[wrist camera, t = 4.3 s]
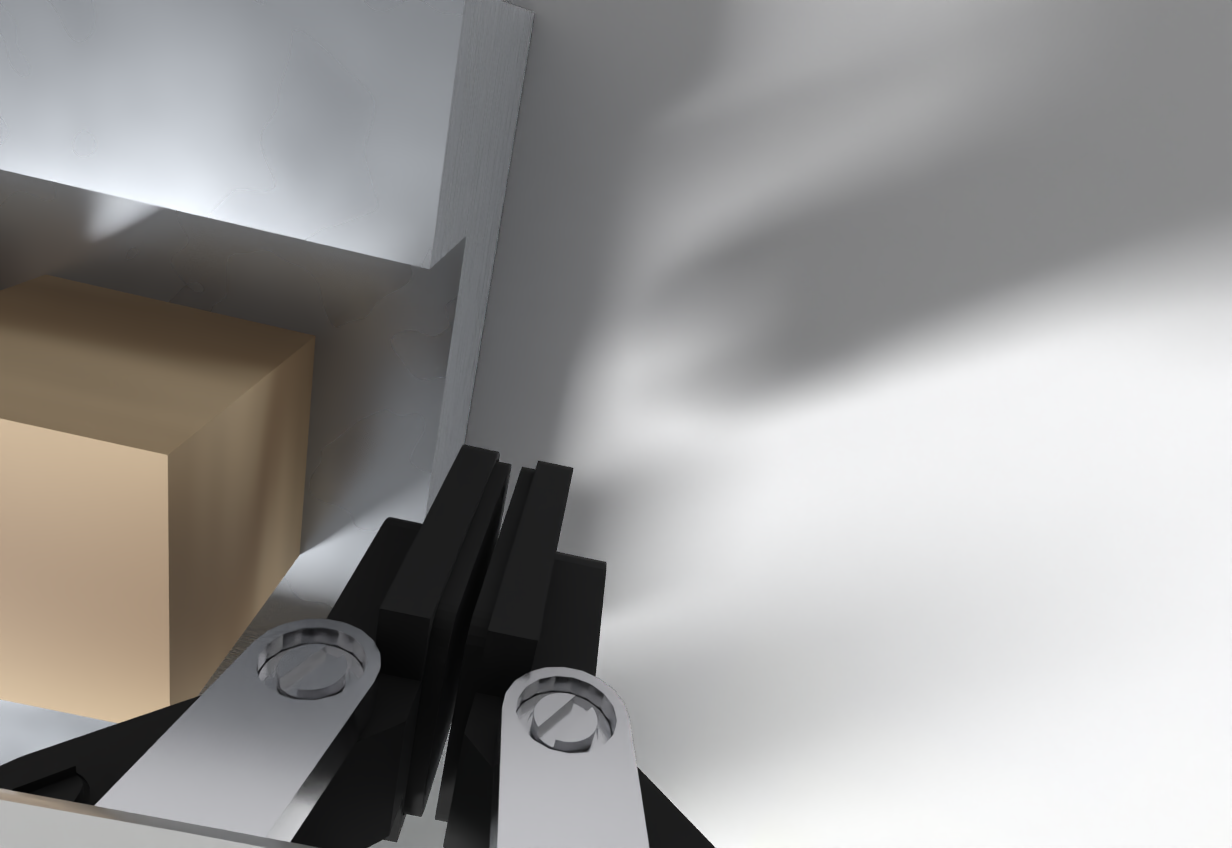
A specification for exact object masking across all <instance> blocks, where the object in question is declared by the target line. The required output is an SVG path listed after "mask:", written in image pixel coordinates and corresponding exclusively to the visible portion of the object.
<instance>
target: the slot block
mask: <svg viewBox="0 0 1232 848" xmlns="http://www.w3.org/2000/svg"><path fill="white" fill-rule="evenodd" d="M534 15H535V12H533V11H530V10H527V9H524V8H522V7H519V6H516V5H513V4H510V3H507V2H505V1H502V0H0V290H3V289H6V288H9V287H12V286H14V285H17V284H20V283H23V282H26V281H29V280H31V279H34V278H37V277H40V276H43V275H51V276H55V277H59V278H64V279H68V280H73V281H77V282H81V283H86V284H90V285H95V286H99V287H103V288H108V289H112V290H117V291H121V292H125V293H130V294H134V295H139V296H143V297H147V298H152V299H156V300H161V301H165V302H169V303H174V304H178V305H183V306H187V307H191V308H196V309H200V310H205V311H209V312H213V313H218V314H222V315H227V316H231V317H235V318H240V319H244V320H249V321H253V322H257V323H262V324H266V325H271V326H275V327H279V328H284V329H288V330H293V331H297V332H301V333H306V334H310V335H315V336H316V337H315V351H314V365H313V378H312V392H311V406H310V419H309V433H308V447H307V461H306V474H305V488H304V502H303V515H302V529H301V543H300V555H299V557H298V558H297V559H296V561H295V562H294V564H293V565H292V566H291V568H290V569H289V570H288V572H287V573H286V575H285V576H284V577H283V579H282V580H281V582H280V583H279V584H278V586H277V587H276V588H275V590H274V591H273V593H272V594H271V595H270V597H269V598H268V599H267V601H266V602H265V604H264V605H263V606H262V608H261V609H260V610H259V612H258V613H257V615H256V616H255V617H254V619H253V620H252V622H251V623H250V624H249V626H248V627H247V628H246V630H245V631H244V633H243V634H242V635H241V637H240V638H239V639H238V641H237V642H236V644H235V645H234V646H233V648H232V649H231V650H230V652H229V653H228V655H227V656H226V657H225V659H224V660H223V661H222V663H221V664H220V666H219V667H218V668H217V670H216V671H215V673H214V674H213V675H212V677H211V678H210V679H209V681H208V682H207V684H206V685H205V686H204V688H203V689H202V690H201V692H200V693H199V695H198V696H200V695H202V694H203V693H204V692H205V691H206V690H207V689H208V688H209V687H210V686H211V685H212V684H213V683H214V682H215V681H216V680H217V679H218V678H219V677H220V676H221V674H222V673H223V672H224V671H225V670H226V669H227V668H228V667H229V666H230V665H231V664H232V663H233V662H234V661H235V660H236V659H237V658H238V657H239V656H240V655H241V654H242V653H243V652H244V651H245V650H246V649H247V648H248V647H249V646H250V645H251V644H252V642H254V641H255V640H256V639H258V638H259V637H260V636H262V635H263V634H264V633H265V632H267V631H269V630H271V629H273V628H276V627H278V626H280V625H283V624H285V623H289V622H294V621H299V620H304V619H326V618H327V617H328V615H329V613H330V612H331V610H332V608H333V607H334V605H335V603H336V601H337V600H338V598H339V596H340V595H341V593H342V591H343V590H344V588H345V586H346V585H347V583H348V581H349V580H350V578H351V576H352V574H353V573H354V571H355V569H356V568H357V566H358V564H359V563H360V561H361V559H362V558H363V556H364V554H365V553H366V551H367V549H368V547H369V546H370V544H371V542H372V541H373V539H374V537H375V536H376V534H377V532H378V531H379V529H380V527H381V526H382V524H383V522H384V521H385V520H386V518H388V517H393V518H398V519H403V520H408V521H412V522H417V523H422V524H423V522H424V520H425V518H426V516H427V514H428V512H429V510H430V508H431V506H432V504H433V502H434V500H435V498H436V496H437V494H438V492H439V490H440V488H441V486H442V484H443V482H444V480H445V478H446V476H447V474H448V472H449V470H450V468H451V466H452V464H453V462H454V461H455V459H456V457H457V455H458V453H459V451H460V449H461V447H462V445H464V444H465V437H466V431H467V425H468V419H469V413H470V407H471V401H472V395H473V388H474V382H475V376H476V370H477V364H478V358H479V352H480V346H481V339H482V333H483V327H484V321H485V315H486V309H487V303H488V297H489V290H490V284H491V278H492V272H493V266H494V260H495V254H496V248H497V241H498V235H499V229H500V223H501V217H502V211H503V205H504V199H505V192H506V186H507V180H508V174H509V168H510V162H511V156H512V150H513V144H514V137H515V131H516V125H517V119H518V113H519V107H520V101H521V95H522V88H523V82H524V76H525V70H526V64H527V58H528V52H529V46H530V39H531V33H532V27H533V21H534ZM115 724H118V723H114V722H109V721H104V720H99V719H94V718H89V717H84V716H79V715H75V714H70V713H65V712H60V711H55V710H50V709H45V708H40V707H35V706H30V705H25V704H20V703H16V702H11V701H6V700H1V699H0V766H1V765H3V764H5V763H7V762H10V761H12V760H14V759H16V758H19V757H21V756H24V755H27V754H30V753H33V752H35V751H38V750H41V749H44V748H47V747H50V746H53V745H56V744H59V743H62V742H65V741H68V740H71V739H74V738H77V737H80V736H82V735H85V734H88V733H91V732H94V731H97V730H100V729H103V728H106V727H109V726H112V725H115Z"/></svg>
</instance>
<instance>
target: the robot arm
mask: <svg viewBox="0 0 1232 848" xmlns="http://www.w3.org/2000/svg"><path fill="white" fill-rule="evenodd" d="M510 471H511V464H507V463H502V462H499V452H496V451H491V450H487V449H482V448H477V447H473V446H468V445H462V447H461V449H460V451H459V453H458V455H457V457H456V459H455V461H454V462H453V464H452V466H451V468H450V470H449V472H448V474H447V476H446V478H445V480H444V482H443V484H442V486H441V488H440V490H439V492H438V494H437V496H436V498H435V500H434V502H433V504H432V506H431V508H430V510H429V512H428V514H427V516H426V518H425V520H424V522H423V524H422V523H417V522H412V521H408V520H403V519H398V518H393V517H388V518H386V520H385V521H384V522H383V524H382V526H381V527H380V529H379V531H378V532H377V534H376V536H375V537H374V539H373V541H372V542H371V544H370V546H369V547H368V549H367V551H366V553H365V554H364V556H363V558H362V559H361V561H360V563H359V564H358V566H357V568H356V569H355V571H354V573H353V574H352V576H351V578H350V580H349V581H348V583H347V585H346V586H345V588H344V590H343V591H342V593H341V595H340V596H339V598H338V600H337V601H336V603H335V605H334V607H333V608H332V610H331V612H330V613H329V615H328V617H327V618H326V619H304V620H299V621H294V622H289V623H285V624H283V625H280V626H278V627H276V628H273V629H271V630H269V631H267V632H265V633H264V634H263V635H262V636H260V637H259V638H258V639H256V640H255V641H254V642H252V644H251V645H250V646H249V647H248V648H247V649H246V650H245V651H244V652H243V653H242V654H241V655H240V656H239V657H238V658H237V659H236V660H235V661H234V662H233V663H232V664H231V665H230V666H229V667H228V668H227V669H226V670H225V671H224V672H223V673H222V674H221V676H220V677H219V678H218V679H217V680H216V681H215V682H214V683H213V684H212V685H211V686H210V687H209V688H208V689H207V690H206V691H205V692H204V693H203V694H202V695H200V696H197V697H194V698H191V699H188V700H185V701H182V702H179V703H176V704H174V705H171V706H168V707H165V708H162V709H159V710H156V711H153V712H150V713H147V714H144V715H141V716H138V717H135V718H132V719H129V720H127V721H124V722H121V723H118V724H115V725H112V726H109V727H106V728H103V729H100V730H97V731H94V732H91V733H88V734H85V735H82V736H80V737H77V738H74V739H71V740H68V741H65V742H62V743H59V744H56V745H53V746H50V747H47V748H44V749H41V750H38V751H35V752H33V753H30V754H27V755H24V756H21V757H19V758H16V759H14V760H12V761H10V762H7V763H5V764H3V765H1V766H0V848H368V847H370V846H372V845H373V844H375V843H377V842H379V841H381V840H388V841H393V842H397V840H398V837H399V834H400V831H401V828H402V825H403V822H404V819H405V816H406V814H409V815H415V816H420V817H421V816H422V814H423V812H424V809H425V806H426V803H427V800H428V796H429V793H430V790H431V787H432V783H433V780H434V777H435V774H436V771H437V767H438V764H439V761H440V758H441V755H442V751H443V748H444V745H445V742H446V738H447V735H448V732H449V729H450V726H451V730H450V735H449V741H448V747H447V752H446V758H445V764H444V769H443V775H442V781H441V787H440V792H439V798H438V804H437V809H436V815H435V820H440V821H446V822H448V823H447V829H446V834H445V839H444V845H443V847H444V848H715V847H714V846H713V845H712V844H711V843H710V842H709V841H708V840H707V839H706V837H705V836H704V835H703V834H702V833H701V832H700V831H699V830H698V829H697V828H696V827H695V826H694V825H693V824H692V823H691V822H690V821H689V820H688V819H687V818H686V817H685V816H684V815H683V814H682V813H681V812H680V811H679V810H678V809H677V807H676V806H675V805H674V804H673V803H672V802H671V801H670V800H669V799H668V798H667V797H666V796H665V795H664V794H663V793H662V792H661V791H660V790H659V789H658V788H657V787H656V786H655V785H654V784H653V783H652V782H651V781H650V780H649V779H648V777H647V776H646V775H645V774H644V773H643V772H642V771H641V770H640V769H639V768H638V767H637V763H636V756H635V749H634V743H633V736H632V730H631V723H630V717H629V714H628V712H627V709H626V706H625V703H624V702H623V700H622V699H621V698H620V697H619V695H618V694H617V693H616V691H615V690H614V689H613V688H611V687H610V686H609V685H607V684H606V683H605V682H604V681H602V680H601V679H599V678H597V677H595V676H596V666H597V656H598V646H599V636H600V626H601V616H602V607H603V597H604V587H605V577H606V562H603V561H598V560H594V559H589V558H584V557H579V556H575V555H570V554H565V553H560V552H556V550H557V545H558V541H559V536H560V531H561V526H562V521H563V516H564V511H565V507H566V502H567V497H568V492H569V487H570V482H571V477H572V473H573V468H571V467H566V466H561V465H557V464H552V463H547V462H543V461H538V463H537V466H536V470H535V469H530V468H525V467H522V469H521V471H520V474H519V477H518V480H517V483H516V486H515V490H514V493H513V496H512V499H511V502H510V505H509V508H508V511H507V514H506V517H505V520H504V523H503V526H502V529H501V532H500V535H499V531H500V526H501V520H502V515H503V509H504V504H505V498H506V493H507V488H508V482H509V477H510ZM498 537H499V538H498ZM451 722H452V724H451Z"/></svg>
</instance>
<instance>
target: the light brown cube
mask: <svg viewBox="0 0 1232 848" xmlns="http://www.w3.org/2000/svg"><path fill="white" fill-rule="evenodd" d="M315 337H316V336H315V335H310V334H306V333H301V332H297V331H293V330H288V329H284V328H279V327H275V326H271V325H266V324H262V323H257V322H253V321H249V320H244V319H240V318H235V317H231V316H227V315H222V314H218V313H213V312H209V311H205V310H200V309H196V308H191V307H187V306H183V305H178V304H174V303H169V302H165V301H161V300H156V299H152V298H147V297H143V296H139V295H134V294H130V293H125V292H121V291H117V290H112V289H108V288H103V287H99V286H95V285H90V284H86V283H81V282H77V281H73V280H68V279H64V278H59V277H55V276H51V275H43V276H40V277H37V278H34V279H31V280H29V281H26V282H23V283H20V284H17V285H14V286H12V287H9V288H6V289H3V290H0V699H1V700H6V701H11V702H16V703H20V704H25V705H30V706H35V707H40V708H45V709H50V710H55V711H60V712H65V713H70V714H75V715H79V716H84V717H89V718H94V719H99V720H104V721H109V722H114V723H121V722H124V721H127V720H129V719H132V718H135V717H138V716H141V715H144V714H147V713H150V712H153V711H156V710H159V709H162V708H165V707H168V706H171V705H174V704H176V703H179V702H182V701H185V700H188V699H191V698H194V697H197V696H198V695H199V693H200V692H201V690H202V689H203V688H204V686H205V685H206V684H207V682H208V681H209V679H210V678H211V677H212V675H213V674H214V673H215V671H216V670H217V668H218V667H219V666H220V664H221V663H222V661H223V660H224V659H225V657H226V656H227V655H228V653H229V652H230V650H231V649H232V648H233V646H234V645H235V644H236V642H237V641H238V639H239V638H240V637H241V635H242V634H243V633H244V631H245V630H246V628H247V627H248V626H249V624H250V623H251V622H252V620H253V619H254V617H255V616H256V615H257V613H258V612H259V610H260V609H261V608H262V606H263V605H264V604H265V602H266V601H267V599H268V598H269V597H270V595H271V594H272V593H273V591H274V590H275V588H276V587H277V586H278V584H279V583H280V582H281V580H282V579H283V577H284V576H285V575H286V573H287V572H288V570H289V569H290V568H291V566H292V565H293V564H294V562H295V561H296V559H297V558H298V557H299V555H300V543H301V529H302V515H303V502H304V488H305V474H306V461H307V447H308V433H309V419H310V406H311V392H312V378H313V365H314V351H315Z"/></svg>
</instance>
